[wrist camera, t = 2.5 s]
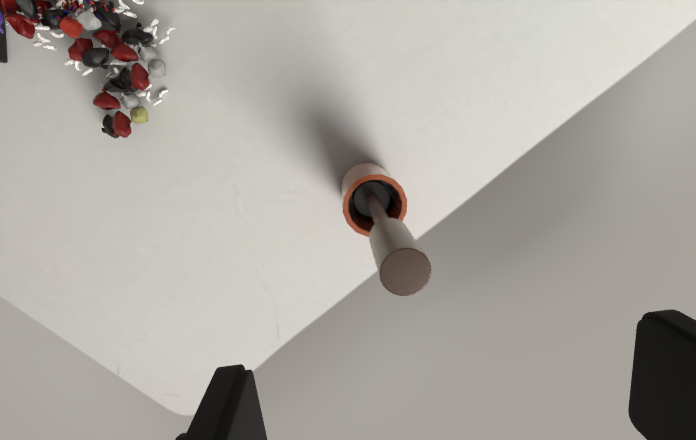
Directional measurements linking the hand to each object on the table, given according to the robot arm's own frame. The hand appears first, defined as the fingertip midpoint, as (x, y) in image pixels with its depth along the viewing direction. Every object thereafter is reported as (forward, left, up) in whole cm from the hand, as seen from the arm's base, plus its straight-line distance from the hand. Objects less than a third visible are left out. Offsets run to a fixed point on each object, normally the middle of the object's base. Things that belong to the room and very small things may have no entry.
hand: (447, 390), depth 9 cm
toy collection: (+26, -4, -28) cm, 38 cm away
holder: (0, 0, -28) cm, 28 cm away
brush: (0, 0, -27) cm, 27 cm away
